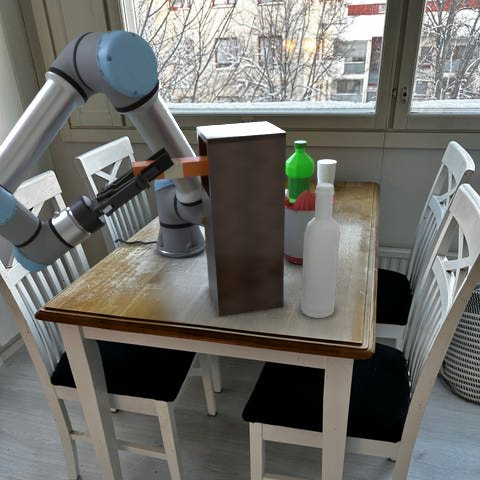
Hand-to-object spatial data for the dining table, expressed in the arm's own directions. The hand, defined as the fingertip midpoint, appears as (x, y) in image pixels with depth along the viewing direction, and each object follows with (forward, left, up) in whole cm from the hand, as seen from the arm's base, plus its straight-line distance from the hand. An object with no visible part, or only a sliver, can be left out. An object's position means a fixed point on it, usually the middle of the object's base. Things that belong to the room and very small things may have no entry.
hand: (168, 155), depth 96 cm
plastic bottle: (+27, +70, -36) cm, 83 cm away
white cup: (+38, +106, -36) cm, 118 cm away
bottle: (+32, 0, -36) cm, 49 cm away
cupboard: (+14, +5, -36) cm, 39 cm away
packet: (+3, +1, -4) cm, 5 cm away
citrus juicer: (+29, +32, -36) cm, 56 cm away
